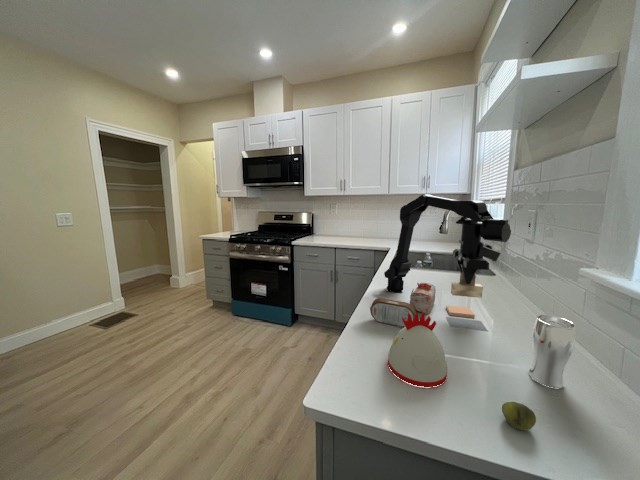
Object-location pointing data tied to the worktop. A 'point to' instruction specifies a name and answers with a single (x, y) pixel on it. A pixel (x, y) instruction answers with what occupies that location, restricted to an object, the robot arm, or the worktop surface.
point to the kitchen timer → (418, 353)
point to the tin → (391, 311)
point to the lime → (519, 415)
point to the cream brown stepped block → (466, 288)
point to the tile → (460, 311)
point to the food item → (423, 297)
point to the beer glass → (551, 349)
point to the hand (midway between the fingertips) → (466, 282)
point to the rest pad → (466, 323)
